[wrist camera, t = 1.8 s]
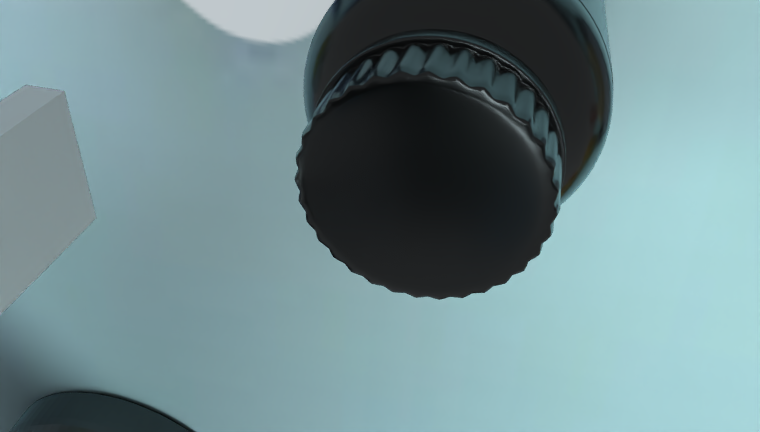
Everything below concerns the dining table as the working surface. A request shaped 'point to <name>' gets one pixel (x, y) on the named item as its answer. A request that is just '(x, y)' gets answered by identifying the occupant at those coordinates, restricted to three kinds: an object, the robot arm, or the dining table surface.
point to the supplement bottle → (450, 134)
